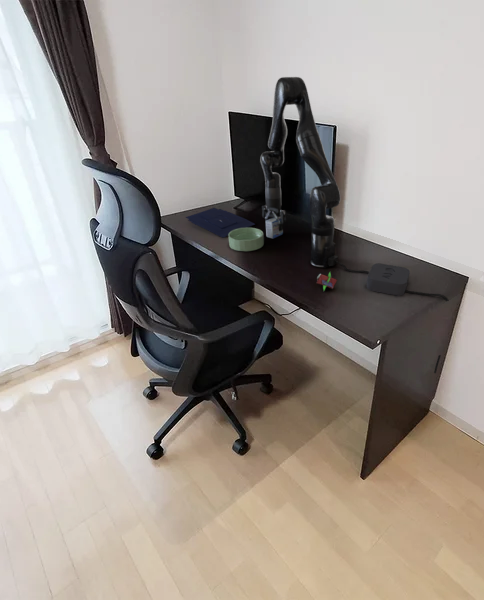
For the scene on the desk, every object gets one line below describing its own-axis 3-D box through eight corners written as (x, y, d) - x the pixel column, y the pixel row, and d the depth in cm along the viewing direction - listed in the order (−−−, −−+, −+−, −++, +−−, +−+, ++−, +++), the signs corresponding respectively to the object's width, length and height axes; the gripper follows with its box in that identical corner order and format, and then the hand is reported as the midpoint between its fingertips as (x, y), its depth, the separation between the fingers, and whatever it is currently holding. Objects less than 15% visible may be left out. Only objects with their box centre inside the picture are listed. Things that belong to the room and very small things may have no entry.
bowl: (270, 244, 176) (270, 233, 173) (245, 254, 165) (244, 243, 162) (247, 235, 185) (247, 225, 182) (222, 245, 174) (221, 234, 171)
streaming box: (372, 273, 151) (374, 262, 148) (408, 280, 147) (410, 268, 144) (364, 290, 140) (366, 278, 137) (403, 297, 135) (405, 285, 133)
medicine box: (272, 239, 181) (272, 222, 177) (266, 236, 183) (265, 220, 179) (283, 234, 186) (282, 217, 182) (276, 232, 189) (275, 216, 184)
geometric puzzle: (339, 279, 142) (328, 264, 139) (341, 288, 136) (329, 272, 133) (324, 289, 144) (312, 274, 141) (325, 298, 138) (313, 283, 135)
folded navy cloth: (216, 211, 212) (216, 205, 210) (255, 228, 199) (256, 222, 197) (182, 223, 195) (182, 216, 193) (222, 242, 182) (222, 236, 180)
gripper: (257, 194, 176) (259, 227, 184) (278, 200, 168) (279, 234, 176) (268, 191, 181) (269, 223, 189) (289, 197, 173) (290, 229, 181)
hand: (274, 228), depth 183 cm, fingers open, 8 cm apart
